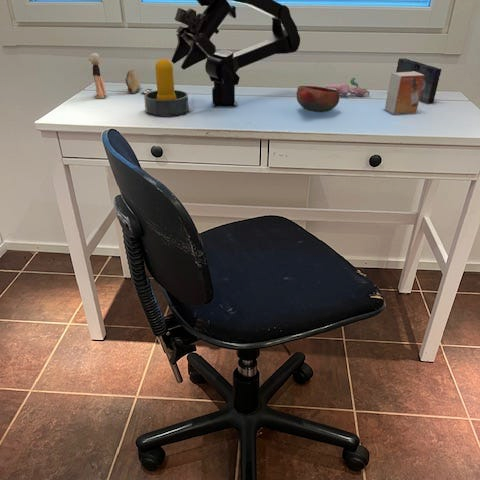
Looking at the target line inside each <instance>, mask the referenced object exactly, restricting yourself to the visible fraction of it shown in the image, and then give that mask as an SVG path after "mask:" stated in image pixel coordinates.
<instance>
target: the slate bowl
mask: <svg viewBox="0 0 480 480" xmlns="http://www.w3.org/2000/svg"><path fill="white" fill-rule="evenodd" d="M174 91H175V95H176V99H175V100H157V94H158V92H157V90H150V91H149V92H148V93H146V94H144V95H143V98H144V107H145V111H146V113H149V114H151V115H154V116H158V117H174V116H180V115H184V114H185V113H186V112H188V111H189V108H190V107H189V105H190V104H189V94H188V92H186V91H183V90H178V89H174Z"/></svg>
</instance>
